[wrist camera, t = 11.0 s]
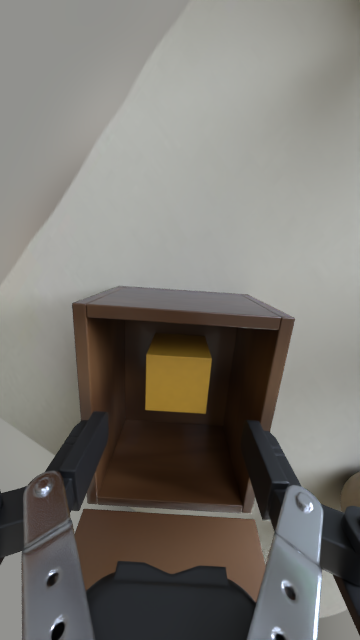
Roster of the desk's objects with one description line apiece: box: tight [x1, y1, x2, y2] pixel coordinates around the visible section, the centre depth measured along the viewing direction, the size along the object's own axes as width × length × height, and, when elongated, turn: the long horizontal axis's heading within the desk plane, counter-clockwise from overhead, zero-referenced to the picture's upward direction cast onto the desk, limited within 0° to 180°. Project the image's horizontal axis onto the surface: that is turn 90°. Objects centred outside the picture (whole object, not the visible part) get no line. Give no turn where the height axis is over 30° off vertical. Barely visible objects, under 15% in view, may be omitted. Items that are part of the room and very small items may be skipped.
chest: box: [72, 286, 295, 514], centre depth 18 cm, size 16×13×9 cm
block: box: [145, 333, 212, 414], centre depth 19 cm, size 5×5×5 cm
